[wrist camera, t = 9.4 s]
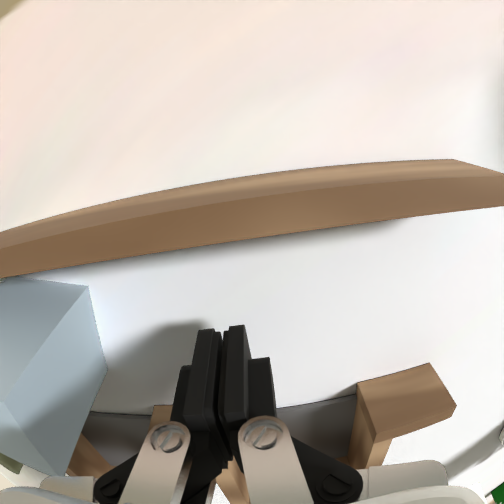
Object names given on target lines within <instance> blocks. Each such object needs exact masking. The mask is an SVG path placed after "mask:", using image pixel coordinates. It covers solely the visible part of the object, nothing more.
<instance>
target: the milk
mask: <svg viewBox="0 0 504 504" xmlns="http://www.w3.org/2000/svg"><path fill="white" fill-rule="evenodd" d="M468 489H471V490H472V491H474V492H475V493H476V494H478V496H479V497H480V498H481V499H482V500H483V502H484V503H485V504H487V502H486V499H485V497H484V494H483V491H482V489H481V486H480V483H479V482H478V483H476V484H474V485H472V486H470V487H468Z"/></svg>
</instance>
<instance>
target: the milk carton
mask: <svg viewBox="0 0 504 504" xmlns="http://www.w3.org/2000/svg"><path fill="white" fill-rule="evenodd" d="M491 494H492V496H493V499H494V501H495V504H504V482H503V483H502V484H501V485H500V486H498V487H497V488H496V489H494V490H493V491H492V492H491Z"/></svg>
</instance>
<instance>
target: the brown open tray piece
mask: <svg viewBox="0 0 504 504" xmlns="http://www.w3.org/2000/svg"><path fill="white" fill-rule="evenodd" d="M499 206H504V174H503V173H500V172H497V171H493V170H490V169H487V168H483V167H480V166H476V165H473V164H469V163H465V162H461V161H458V160H454V159H440V160H410V161H390V162H374V163H360V164H348V165H337V166H326V167H316V168H307V169H298V170H289V171H281V172H274V173H266V174H259V175H252V176H245V177H238V178H232V179H225V180H219V181H213V182H207V183H201V184H195V185H190V186H184V187H179V188H174V189H169V190H163V191H158V192H153V193H149V194H144V195H139V196H134V197H130V198H125V199H121V200H116V201H112V202H108V203H104V204H99V205H95V206H91V207H87V208H83V209H79V210H75V211H71V212H68V213H64V214H60V215H57V216H53V217H49V218H46V219H42V220H39V221H35V222H32V223H28V224H25V225H22V226H18V227H15V228H12V229H9V230H6V231H3V232H0V278H5V277H11V276H16V275H22V274H28V273H34V272H40V271H46V270H52V269H58V268H64V267H70V266H76V265H82V264H88V263H94V262H100V261H107V260H113V259H119V258H126V257H132V256H138V255H145V254H151V253H158V252H164V251H171V250H177V249H184V248H191V247H197V246H204V245H211V244H218V243H224V242H231V241H238V240H245V239H252V238H259V237H266V236H273V235H280V234H287V233H294V232H302V231H309V230H316V229H324V228H331V227H338V226H346V225H353V224H361V223H369V222H376V221H384V220H392V219H400V218H408V217H415V216H424V215H432V214H440V213H448V212H456V211H465V210H473V209H482V208H491V207H499ZM456 406H457V405H456V403H455V402H454V400H453V399H452V397H451V395H450V394H449V392H448V390H447V389H446V387H445V386H444V384H443V382H442V381H441V379H440V378H439V376H438V375H437V373H436V371H435V370H434V368H433V367H432V365H431V364H430V363H428V364H424V365H421V366H418V367H415V368H411V369H408V370H405V371H401V372H398V373H394V374H390V375H387V376H383V377H379V378H375V379H371V380H367V381H363V382H358V383H357V391H356V394H355V395H351V396H346V397H342V398H337V399H332V400H327V401H322V402H316V403H311V404H305V405H298V406H292V407H285V408H278V409H276V411H277V418H278V419H280V420H282V421H283V422H284V423H285V424H286V426H287V428H288V430H289V433H290V436H292V437H294V438H296V439H297V440H299V441H301V442H303V443H305V444H307V445H308V446H310V447H312V448H314V449H316V450H318V451H320V452H322V453H324V454H326V455H328V456H330V457H332V458H334V459H336V460H338V461H340V462H342V463H344V464H346V465H348V466H350V467H352V468H354V469H355V470H359V469H369V467H372V466H381V465H382V463H383V461H384V458H385V456H386V454H387V451H388V449H389V446H390V444H391V441H392V439H393V438H395V437H399V436H402V435H405V434H408V433H411V432H413V431H416V430H419V429H422V428H425V427H427V426H430V425H433V424H435V423H438V422H440V421H443V420H445V419H447V418H450V417H451V416H452V414H453V412H454V410H455V408H456ZM172 407H173V405H154V409H153V413H152V416H143V415H121V414H106V413H95V412H89V414H88V416H87V419H86V421H85V424H84V426H83V428H82V431H81V433H80V436H79V438H78V441H77V444H76V446H75V449H74V451H73V454H72V457H71V459H70V462H69V465H68V468H67V470H66V473H67V474H68V475H69V476H73V477H79V476H94V477H95V478H99V477H101V476H102V475H103V474H105V473H107V472H108V471H110V470H112V469H113V468H115V467H117V466H118V465H120V464H121V463H123V462H125V461H126V460H128V459H129V458H131V457H132V456H134V455H136V454H137V453H139V452H140V450H141V448H142V445H143V443H144V441H145V438H146V436H147V434H148V433H149V431H150V430H151V429H152V428H153V427H154V426H156V425H157V424H159V423H162V422H166V421H170V416H171V412H172ZM0 464H1V465H3V466H4V467H5V468H7V469H8V470H10V471H12V472H14V473H16V474H19V473H20V470H21V468H22V466H23V464H22V463H20V462H18V461H16V460H14V459H12V458H10V457H8V456H6V455H4V454H2V453H0ZM216 482H217V484H218V486H219V487H220V489H221V490H222V492H223V493H224V495H225V496H226V498H227V499H228V501H229V502H230V504H251V502H250V497H249V493H248V488H247V483H246V478H245V474H243V473H242V472H241V471H240V469H239V466H238V464H237V462H236V460H235V458H234V455H233V461H228V469H222V473H221V474H220V475H218V476H217V477H216Z"/></svg>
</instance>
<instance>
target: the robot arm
mask: <svg viewBox="0 0 504 504" xmlns="http://www.w3.org/2000/svg"><path fill="white" fill-rule="evenodd" d="M499 440H500V441H501V443H502V445H504V428H503V430H502V431H501V434H500V436H499ZM233 455H234V458H235V460H236V462H237V464H238V466H239V469H240V471H241V472H242V473H243V474H245V478H246V483H247V488H248V493H249V497H250V502H251V504H485V503H484V502H483V500H482V499H481V498H480V497H479V496H478V494H476V493H475V492H474V491H472V490H471V489H468V488H465V487H460V486H448V478H447V472H446V470H445V467H444V466H443V465H442V464H441V463H440V462H437V461H435V460H423V461H417V462H410V463H402V464H394V465H384V466H372V467H369V469H359V470H355V469H354V468H352V467H350V466H348V465H346V464H344V463H342V462H340V461H338V460H336V459H334V458H332V457H330V456H328V455H326V454H324V453H322V452H320V451H318V450H316V449H314V448H312V447H310V446H308V445H307V444H305V443H303V442H301V441H299V440H297V439H296V438H294V437H292V436H290V433H289V430H288V428H287V426H286V424H285V423H284V422H283V421H282V420H280V419H278V418H277V411H276V401H275V392H274V384H273V377H272V370H271V364H270V358H269V357H265V358H258V359H252V358H251V354H250V349H249V344H248V339H247V334H246V329H245V326H244V325H237V326H229V331H224V334H223V340H222V336H221V333H220V332H215V330H214V328H212V329H203V330H199V331H198V335H197V340H196V345H195V350H194V355H193V360H192V365H187V366H182V367H181V370H180V374H179V379H178V384H177V388H176V393H175V397H174V402H173V407H172V412H171V416H170V421H166V422H162V423H159V424H157V425H156V426H154V427H153V428H152V429H151V430H150V431H149V433H148V434H147V436H146V438H145V441H144V443H143V445H142V448H141V450H140V452H139V453H137V454H136V455H134V456H132V457H131V458H129V459H128V460H126V461H125V462H123V463H121V464H120V465H118V466H117V467H115V468H113V469H112V470H110V471H108V472H107V473H105V474H103V475H102V476H101V477H99V478H95V477H94V476H79V477H73V476H50V477H47V478H45V479H44V480H43V481H42V482H41V484H40V487H39V488H35V487H11V488H6V489H3V490H1V491H0V504H211V502H212V498H213V494H214V489H215V485H216V477H217V476H218V475H220V474H221V473H222V469H228V461H233Z"/></svg>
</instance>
